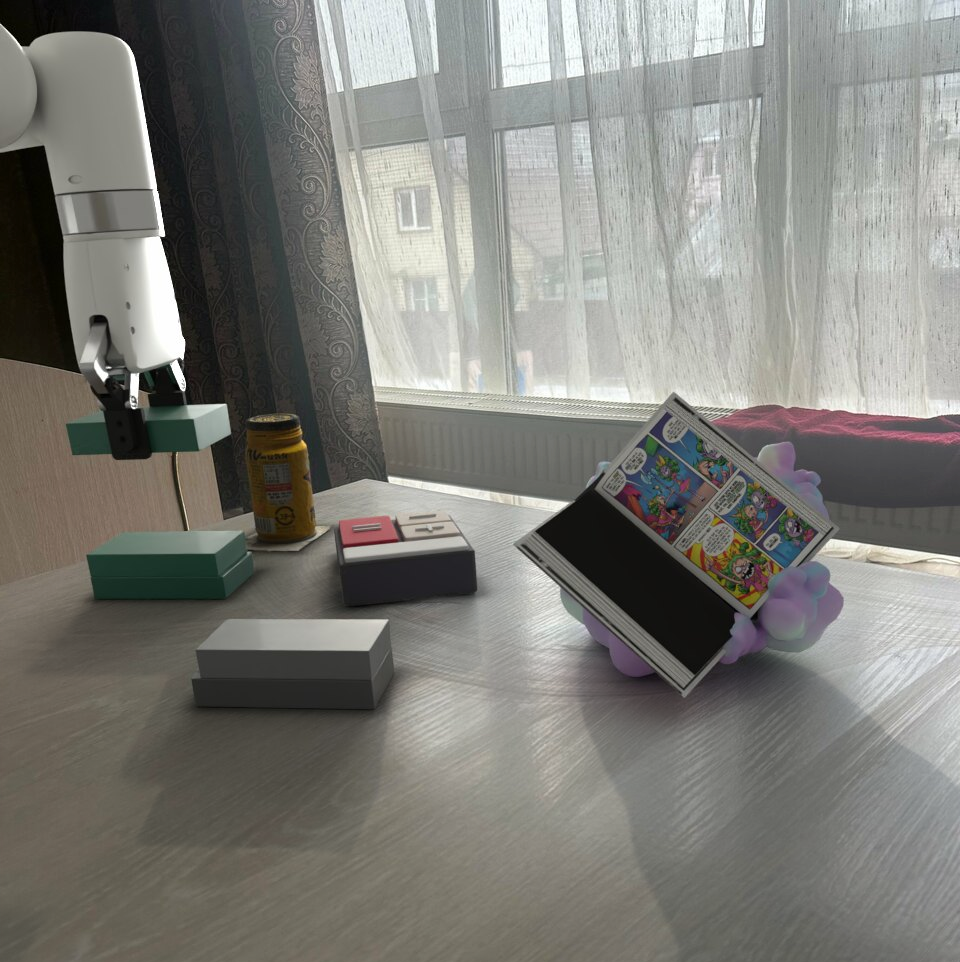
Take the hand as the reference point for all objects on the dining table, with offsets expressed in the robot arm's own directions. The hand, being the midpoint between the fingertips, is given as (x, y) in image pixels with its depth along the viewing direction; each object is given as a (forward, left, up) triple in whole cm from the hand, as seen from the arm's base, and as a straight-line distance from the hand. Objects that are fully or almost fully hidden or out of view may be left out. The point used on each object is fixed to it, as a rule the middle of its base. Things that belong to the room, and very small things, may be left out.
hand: (154, 447), depth 84 cm
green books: (0, 0, -12) cm, 12 cm away
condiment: (+5, +14, -12) cm, 19 cm away
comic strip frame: (+44, -13, -12) cm, 47 cm away
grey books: (+18, -21, -12) cm, 30 cm away
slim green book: (0, 0, 0) cm, 0 cm away
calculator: (+20, +3, -12) cm, 24 cm away
